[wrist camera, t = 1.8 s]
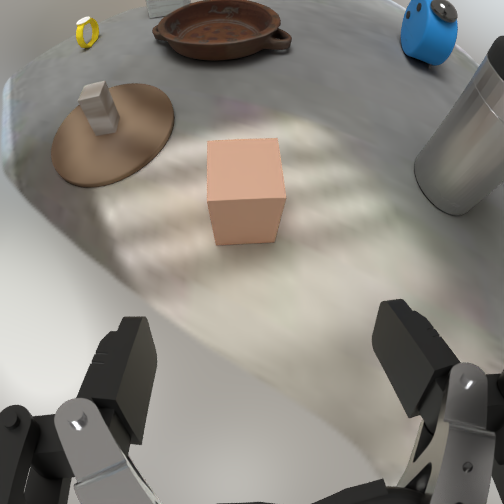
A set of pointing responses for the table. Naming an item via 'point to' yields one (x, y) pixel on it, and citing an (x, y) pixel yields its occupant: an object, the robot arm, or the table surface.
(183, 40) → the dish
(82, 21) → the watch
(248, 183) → the salmon pink block
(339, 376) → the table surface
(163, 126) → the post stand
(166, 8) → the supplement box
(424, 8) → the alarm clock
